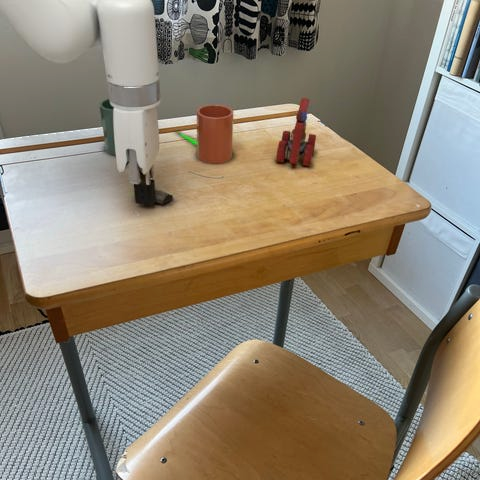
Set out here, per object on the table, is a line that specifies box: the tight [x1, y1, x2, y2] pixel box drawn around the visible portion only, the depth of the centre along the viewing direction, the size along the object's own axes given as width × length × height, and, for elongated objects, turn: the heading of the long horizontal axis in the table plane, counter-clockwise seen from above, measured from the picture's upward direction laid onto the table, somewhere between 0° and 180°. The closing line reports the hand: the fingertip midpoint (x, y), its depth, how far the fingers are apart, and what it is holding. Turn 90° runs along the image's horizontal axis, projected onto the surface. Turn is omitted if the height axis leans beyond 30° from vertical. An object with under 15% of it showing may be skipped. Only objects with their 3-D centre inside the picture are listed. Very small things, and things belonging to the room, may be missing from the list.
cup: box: [196, 104, 235, 164], centre depth 102 cm, size 7×7×9 cm
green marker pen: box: [178, 132, 197, 147], centre depth 108 cm, size 1×14×1 cm, turn 39°
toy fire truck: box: [276, 97, 317, 167], centre depth 102 cm, size 7×12×10 cm, turn 168°
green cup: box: [98, 98, 116, 156], centre depth 102 cm, size 7×7×9 cm
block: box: [154, 189, 174, 205], centre depth 90 cm, size 4×6×2 cm, turn 61°
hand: (145, 202), depth 88 cm, fingers closed
